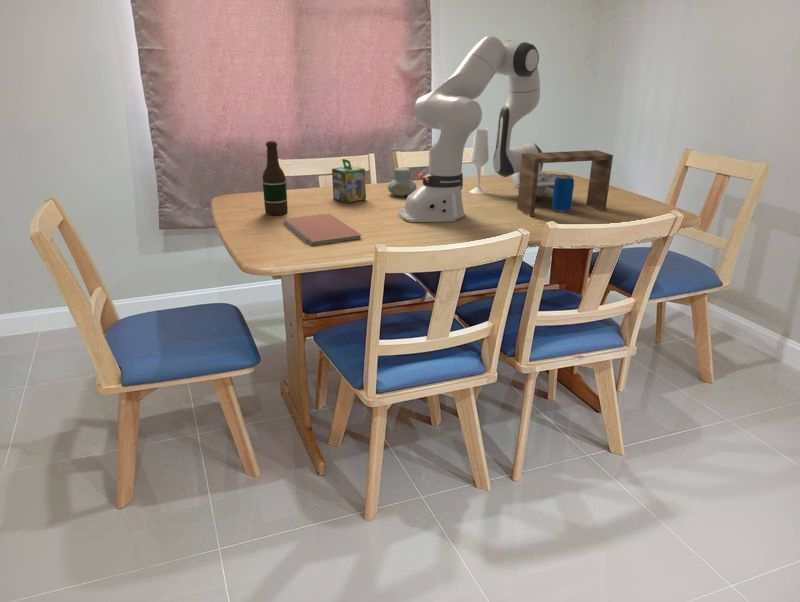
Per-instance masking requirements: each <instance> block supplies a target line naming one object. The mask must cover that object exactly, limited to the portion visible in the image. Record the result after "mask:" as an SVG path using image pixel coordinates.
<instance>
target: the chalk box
mask: <svg viewBox="0 0 800 602" xmlns="http://www.w3.org/2000/svg"><path fill="white" fill-rule="evenodd" d="M341 161H342V164H343V166H339V167H334V168H331V172H332V173H331V176H332V180H331V181H332V196H333V198H334V199H333V200H336V199H337V201H339V202H341V201H342V203H344V202H345V203H344V204H348V202H350V203H355V202H358V201H359V202H360V201H365V200H367V194H366V193H367V192H366V189H367V188H366V168H363V167H359V166H355V165H352V163H351V161H350V160H349V159H345V158H342V159H341Z"/></svg>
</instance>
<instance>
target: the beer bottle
mask: <svg viewBox="0 0 800 602" xmlns="http://www.w3.org/2000/svg"><path fill="white" fill-rule="evenodd" d="M265 146H266V167H265V169H264V170H263V174H262V188H263V200H264V201H263V203H264V210H265V211H264V212H265V214H266V215H267V216H271V217H278V216H279V215H280V216H284V215H286V213H287V214H288V209H289V207H288V196H287V195H288V193H287V180H286V175H285V172H284V170H283V169H282V168H281V166H280V164H279V163H280V162H279V154H278V147H277V146H278V142H276V141H273V140H272V141H267V142H266V141H265Z"/></svg>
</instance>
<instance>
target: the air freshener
mask: <svg viewBox="0 0 800 602" xmlns="http://www.w3.org/2000/svg"><path fill="white" fill-rule="evenodd" d="M417 188H418V187H417V184H416V182H415V181H414V180H412V179H411V169H410V168H409V167H405V166H404V167H403V166H401V167H396V168H394V179H392V180H391V181H390V182H389V183H388V184H387V190H388V192H390V194H392V195H393V196H396V197H400V198H401V197H402V198H404V197H408V196H409V195H410V194H411V193H412V192H414V191H415V190H416V189H417Z"/></svg>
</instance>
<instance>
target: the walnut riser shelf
mask: <svg viewBox="0 0 800 602" xmlns="http://www.w3.org/2000/svg"><path fill="white" fill-rule="evenodd" d="M613 159H614V154H610V153H607V152H604V151H600V150H598V149H596V150H595V149H594V150H576V151H575V150H574V151H570V150H569V151H552V152H551V151H550V152H542V153H525V154H522V157H521V169H520V181H519V189H518V193H517V194H518V196H517V207H516V209H518V211H519V210H520V211H519V212H521V211H522V212H524V213H526V214H527V215H526V214H525V215H526V216H528V215H529V216H534V217H535V211H536V210H535V209H536V200H537V196H536V190H537V179H538V168H539V163H543V164H549V163H550V164H551V163H554V164H555V163H556V164H557V163H571V162H572V163H574V162H590V161H591V165H590V174H589V181H588V190H587V198H586V206H589V207H591V208H593V209H595V210H597V211H599V212H606V211H607V210H606V209H607V201H608V194H609V188H610V181H611V173H612V166H613ZM522 212H521V213H522ZM524 213H523V214H524ZM529 216H528V217H529Z"/></svg>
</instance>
